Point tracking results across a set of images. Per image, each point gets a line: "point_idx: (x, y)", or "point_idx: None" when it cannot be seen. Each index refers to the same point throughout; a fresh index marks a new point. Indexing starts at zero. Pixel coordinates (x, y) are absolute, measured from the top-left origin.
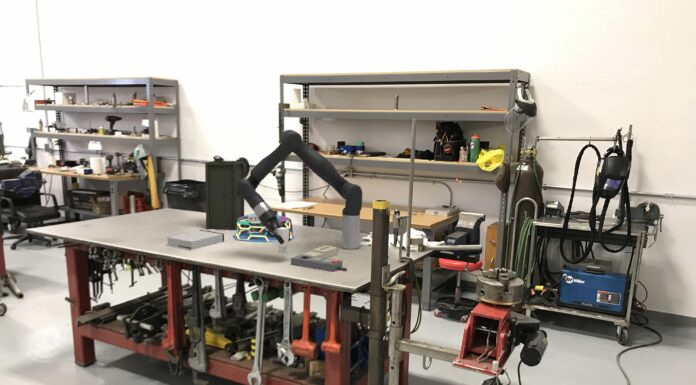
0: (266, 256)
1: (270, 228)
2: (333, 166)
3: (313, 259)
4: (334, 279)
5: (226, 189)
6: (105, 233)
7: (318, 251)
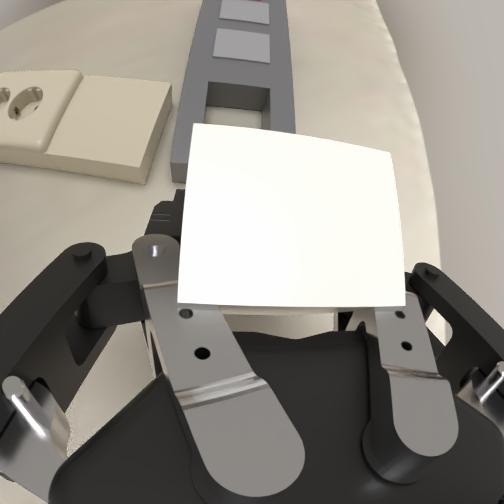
0: None
1: (500, 348)
2: None
3: (261, 55)
4: (350, 10)
5: None
6: None
7: (65, 103)
